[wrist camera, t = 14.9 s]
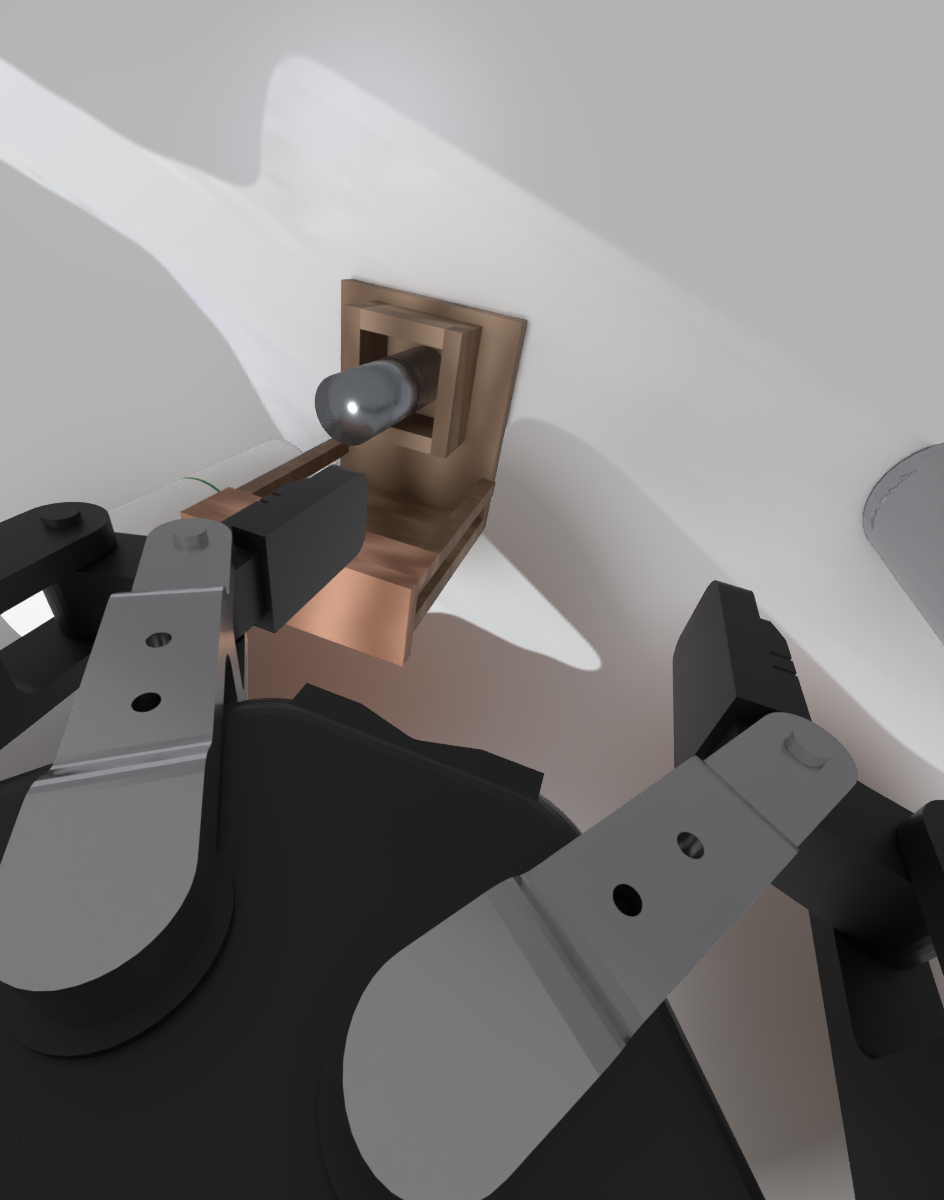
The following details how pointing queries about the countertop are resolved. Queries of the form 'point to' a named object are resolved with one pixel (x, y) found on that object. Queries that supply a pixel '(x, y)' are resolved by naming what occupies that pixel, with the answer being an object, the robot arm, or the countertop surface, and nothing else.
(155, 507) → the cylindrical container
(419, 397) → the steel peg
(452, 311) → the wooden frame stand
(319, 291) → the countertop surface
